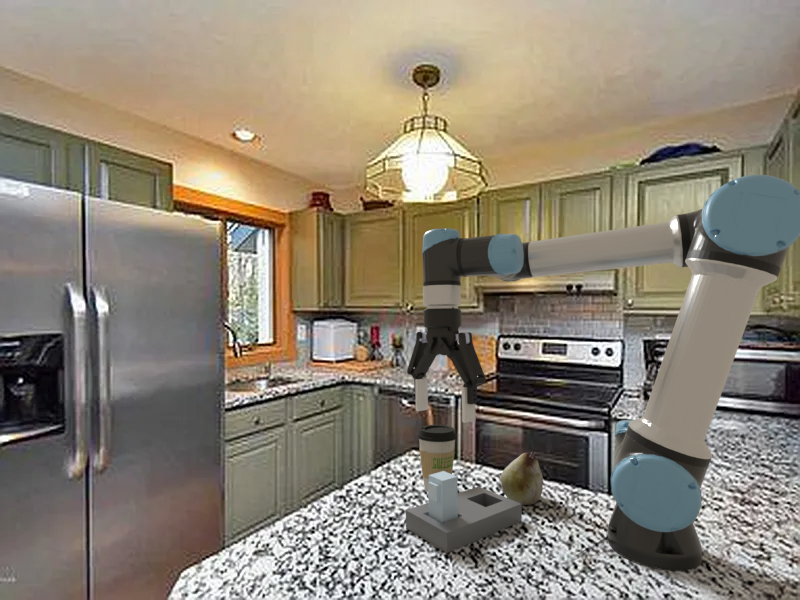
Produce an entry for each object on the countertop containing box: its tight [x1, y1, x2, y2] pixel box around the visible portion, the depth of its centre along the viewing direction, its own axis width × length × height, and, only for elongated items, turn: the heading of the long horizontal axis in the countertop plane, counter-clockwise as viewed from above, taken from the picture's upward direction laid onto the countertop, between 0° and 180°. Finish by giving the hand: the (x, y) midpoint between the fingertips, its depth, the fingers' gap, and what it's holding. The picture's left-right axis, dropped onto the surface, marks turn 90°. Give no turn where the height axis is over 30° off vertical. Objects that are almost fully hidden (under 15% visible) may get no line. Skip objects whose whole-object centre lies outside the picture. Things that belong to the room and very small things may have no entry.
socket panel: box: [405, 486, 523, 554], centre depth 92 cm, size 12×21×4 cm, turn 127°
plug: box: [427, 471, 459, 523], centre depth 88 cm, size 4×5×11 cm
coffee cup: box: [416, 424, 458, 492], centre depth 111 cm, size 10×10×15 cm
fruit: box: [500, 451, 544, 506], centre depth 104 cm, size 10×9×12 cm
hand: (443, 415), depth 89 cm, fingers open, 13 cm apart
